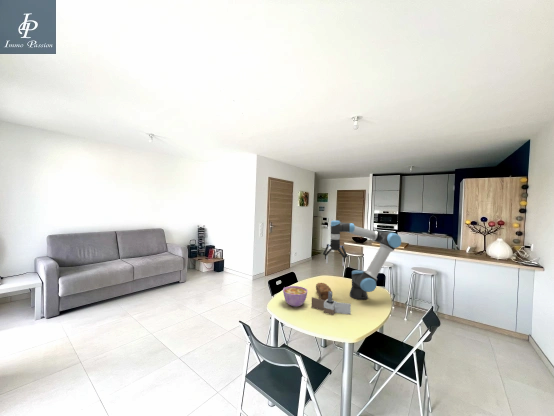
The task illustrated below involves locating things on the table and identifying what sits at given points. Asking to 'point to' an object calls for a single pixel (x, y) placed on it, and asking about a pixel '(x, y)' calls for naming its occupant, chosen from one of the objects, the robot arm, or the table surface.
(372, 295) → the table surface
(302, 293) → the bowl of food
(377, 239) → the robot arm
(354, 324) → the table surface
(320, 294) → the bread
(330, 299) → the hinge pin
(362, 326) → the table surface
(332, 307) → the hinge leaves
